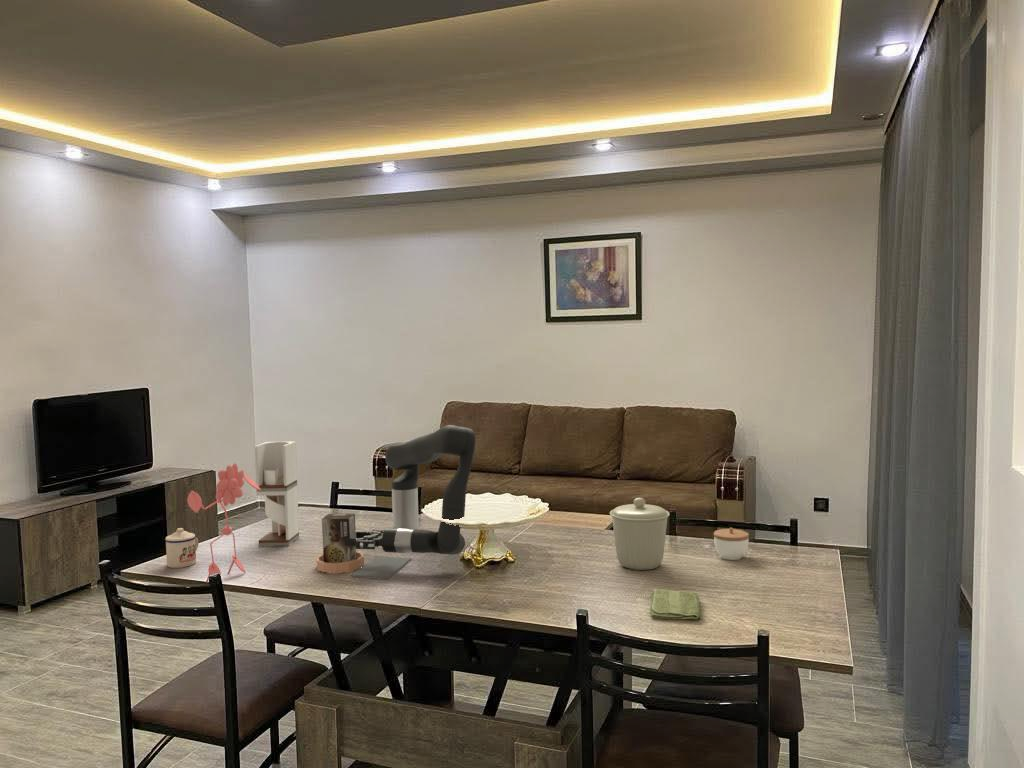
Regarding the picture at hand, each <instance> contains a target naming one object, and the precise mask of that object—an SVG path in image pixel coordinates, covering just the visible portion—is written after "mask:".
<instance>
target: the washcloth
mask: <svg viewBox="0 0 1024 768" xmlns="http://www.w3.org/2000/svg"><path fill="white" fill-rule="evenodd" d="M650 601H651V604H650V605H651V606H650V608H649V617H650V618H652V619H654V620H655V619H660V620H661V619H662V620H692V621H693V620H696V621H702V620H703V614H702V610H701V605H700V596H699V595H698V592H696V591H691V590H690V591H688V590H678V591H677V590H669V589H663V588H662V589H661V588H654V589H653V590H652V592H651V595H650Z"/></svg>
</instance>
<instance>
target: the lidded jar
mask: <svg viewBox="0 0 1024 768" xmlns="http://www.w3.org/2000/svg"><path fill="white" fill-rule="evenodd" d="M749 536H750V534H749V533H748V531H744V530H742V529H736V528H733V527H729V528H724V529H723V528H722V529H717V530H714V532H713V542H714V547H715V550H716V551H717V553H718V555H720V556H721V558H722V559H724V560H729V561H738V560H741V559H742V557H743V556H745V555H746V553H747V551H748V548H749V541H750V540H749V538H750V537H749Z"/></svg>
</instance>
